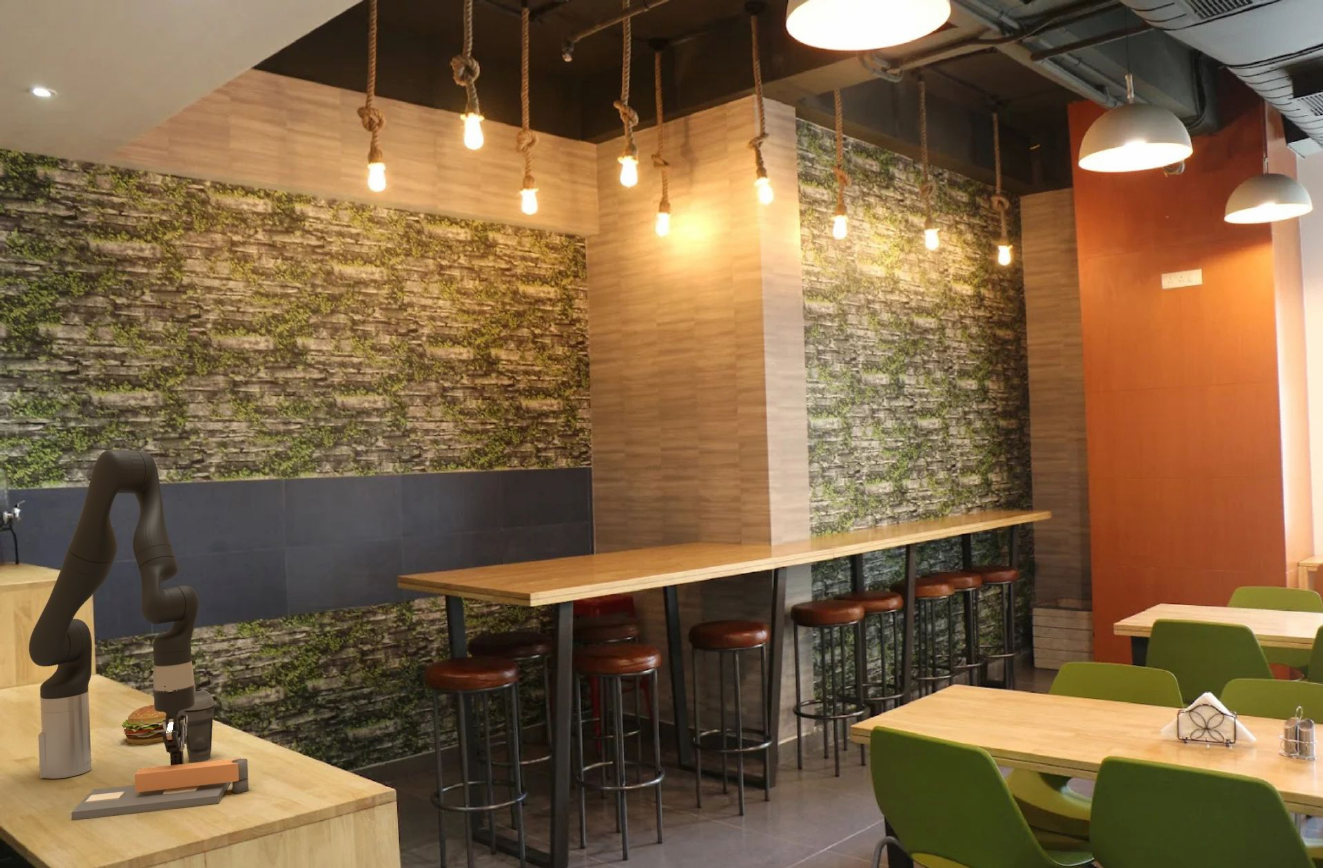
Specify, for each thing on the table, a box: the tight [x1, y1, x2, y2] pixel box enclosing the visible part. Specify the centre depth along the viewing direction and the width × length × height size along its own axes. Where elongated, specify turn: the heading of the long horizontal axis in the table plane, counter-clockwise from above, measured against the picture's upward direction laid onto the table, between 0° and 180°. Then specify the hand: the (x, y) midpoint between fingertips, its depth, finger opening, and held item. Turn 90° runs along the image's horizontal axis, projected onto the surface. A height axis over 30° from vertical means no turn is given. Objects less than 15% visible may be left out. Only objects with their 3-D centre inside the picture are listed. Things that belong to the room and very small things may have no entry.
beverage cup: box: [185, 682, 216, 763], centre depth 237 cm, size 7×7×20 cm
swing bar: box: [134, 757, 249, 792], centre depth 210 cm, size 20×4×4 cm, turn 103°
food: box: [121, 704, 166, 745], centre depth 257 cm, size 14×14×8 cm
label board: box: [70, 777, 250, 821], centre depth 209 cm, size 30×14×2 cm, turn 103°
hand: (177, 769), depth 215 cm, fingers closed
